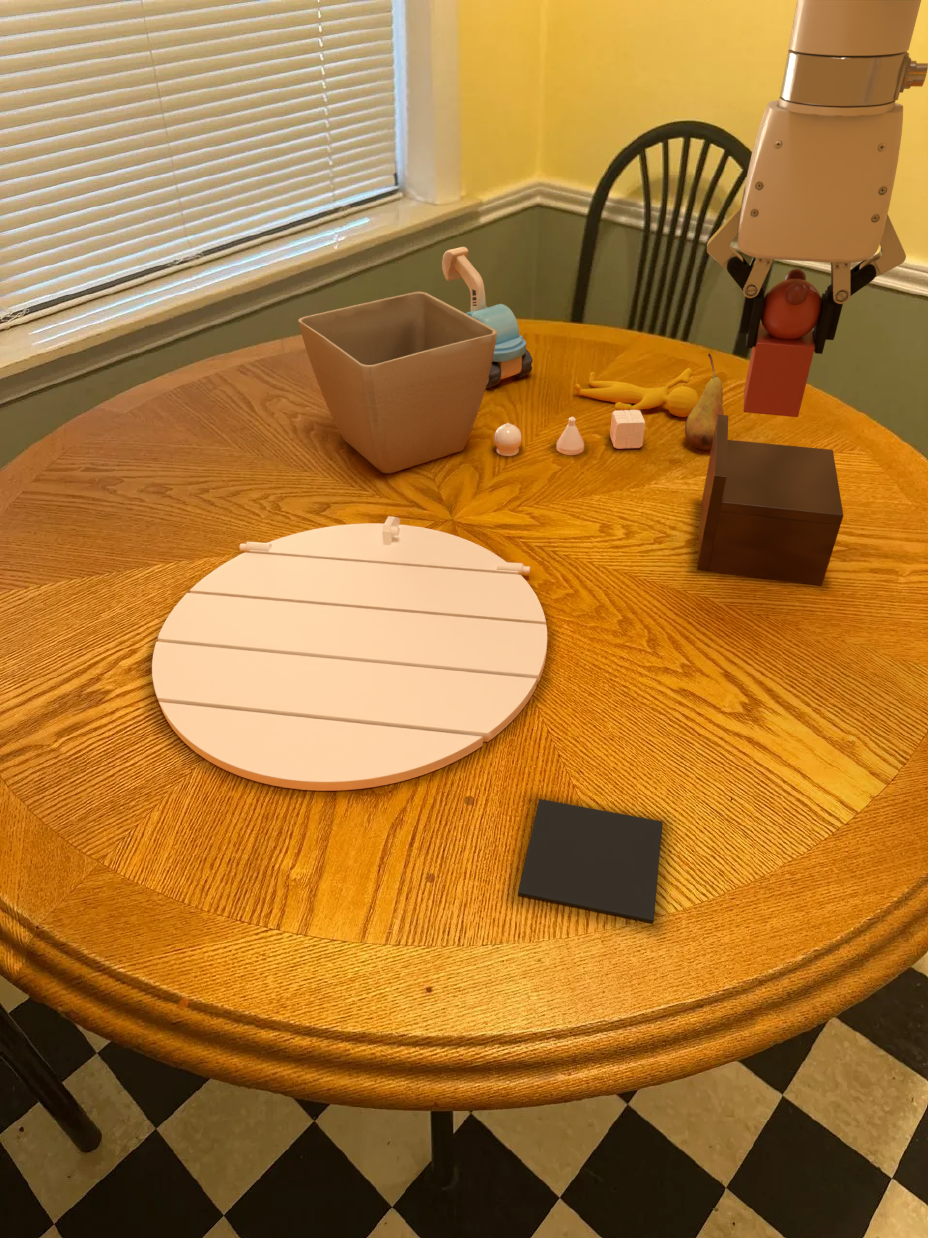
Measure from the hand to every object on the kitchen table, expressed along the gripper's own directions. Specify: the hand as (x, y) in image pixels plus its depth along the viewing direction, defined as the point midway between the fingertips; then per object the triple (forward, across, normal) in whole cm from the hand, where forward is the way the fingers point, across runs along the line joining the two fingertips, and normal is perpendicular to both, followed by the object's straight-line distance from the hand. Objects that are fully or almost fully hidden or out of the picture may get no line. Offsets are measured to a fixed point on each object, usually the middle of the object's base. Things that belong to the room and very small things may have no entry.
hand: (783, 342), depth 70 cm
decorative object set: (+29, +22, -33) cm, 49 cm away
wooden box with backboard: (+29, -4, -16) cm, 33 cm away
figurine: (+29, +14, -48) cm, 58 cm away
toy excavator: (+29, +39, -56) cm, 74 cm away
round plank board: (+29, +36, +11) cm, 48 cm away
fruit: (+29, +4, -37) cm, 48 cm away
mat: (+29, +9, +32) cm, 44 cm away
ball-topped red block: (+5, 0, 0) cm, 5 cm away
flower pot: (+29, +44, -29) cm, 60 cm away
